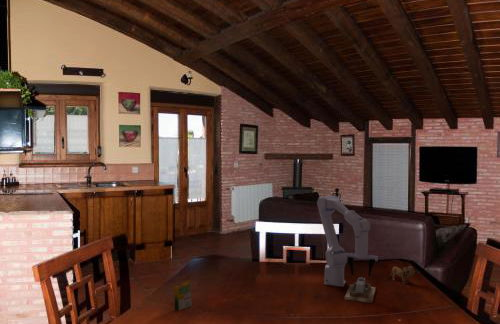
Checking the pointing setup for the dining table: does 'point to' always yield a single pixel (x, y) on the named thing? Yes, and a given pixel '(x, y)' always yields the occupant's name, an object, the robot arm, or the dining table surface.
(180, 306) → the crayon box
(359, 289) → the grey pillar with nub
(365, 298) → the cradle jig
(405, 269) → the lion figurine
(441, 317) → the dining table surface
